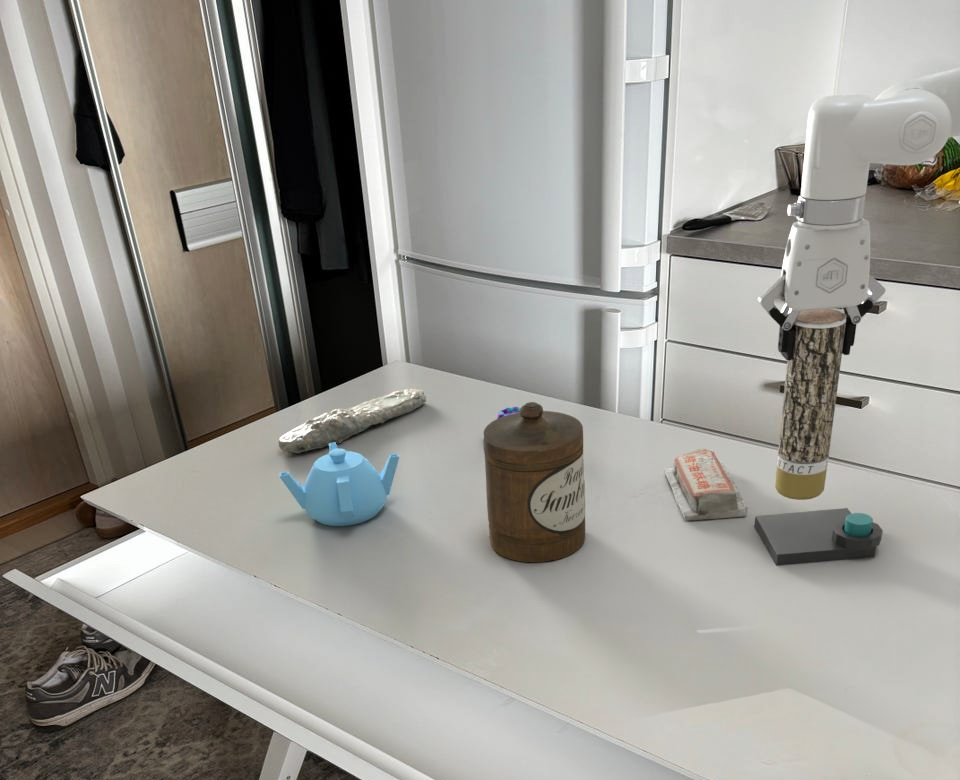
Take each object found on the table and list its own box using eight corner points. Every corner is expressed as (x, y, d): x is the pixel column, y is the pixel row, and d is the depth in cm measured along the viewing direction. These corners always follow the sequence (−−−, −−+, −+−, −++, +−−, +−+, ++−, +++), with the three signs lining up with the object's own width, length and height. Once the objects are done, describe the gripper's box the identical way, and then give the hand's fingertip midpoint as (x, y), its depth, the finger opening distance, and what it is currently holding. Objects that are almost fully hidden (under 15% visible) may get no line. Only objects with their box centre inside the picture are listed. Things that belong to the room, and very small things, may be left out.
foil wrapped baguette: (439, 412, 202) (409, 404, 209) (437, 386, 200) (406, 379, 206) (298, 460, 183) (269, 450, 189) (293, 433, 180) (264, 423, 186)
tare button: (865, 524, 141) (867, 511, 140) (874, 536, 138) (876, 523, 137) (840, 526, 141) (842, 513, 140) (849, 538, 138) (851, 525, 137)
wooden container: (560, 571, 143) (555, 429, 131) (473, 552, 150) (460, 416, 137) (601, 526, 154) (599, 391, 141) (517, 510, 160) (509, 380, 148)
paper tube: (791, 476, 145) (810, 305, 131) (833, 489, 140) (857, 313, 126) (765, 493, 141) (781, 318, 127) (806, 506, 137) (828, 327, 123)
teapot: (282, 520, 164) (269, 461, 158) (339, 484, 174) (329, 427, 168) (353, 539, 157) (342, 477, 150) (408, 500, 167) (400, 441, 161)
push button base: (853, 518, 149) (857, 497, 147) (885, 559, 139) (889, 538, 137) (754, 526, 150) (755, 506, 148) (777, 568, 139) (780, 547, 137)
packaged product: (750, 489, 149) (685, 495, 150) (748, 518, 152) (684, 523, 152) (723, 442, 164) (664, 447, 164) (722, 469, 167) (663, 474, 167)
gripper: (768, 223, 117) (756, 370, 127) (914, 210, 116) (891, 357, 126) (751, 211, 123) (741, 351, 133) (890, 198, 122) (870, 339, 133)
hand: (814, 353), depth 130 cm, fingers closed on paper tube, 6 cm apart
